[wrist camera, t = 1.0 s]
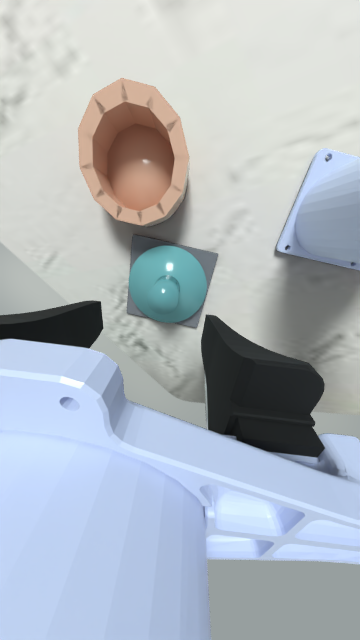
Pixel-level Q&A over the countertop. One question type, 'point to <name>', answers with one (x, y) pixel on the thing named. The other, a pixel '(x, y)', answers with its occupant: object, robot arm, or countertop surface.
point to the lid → (167, 284)
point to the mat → (204, 257)
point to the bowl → (133, 153)
